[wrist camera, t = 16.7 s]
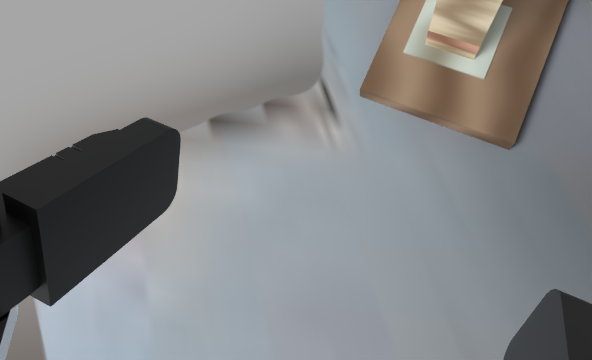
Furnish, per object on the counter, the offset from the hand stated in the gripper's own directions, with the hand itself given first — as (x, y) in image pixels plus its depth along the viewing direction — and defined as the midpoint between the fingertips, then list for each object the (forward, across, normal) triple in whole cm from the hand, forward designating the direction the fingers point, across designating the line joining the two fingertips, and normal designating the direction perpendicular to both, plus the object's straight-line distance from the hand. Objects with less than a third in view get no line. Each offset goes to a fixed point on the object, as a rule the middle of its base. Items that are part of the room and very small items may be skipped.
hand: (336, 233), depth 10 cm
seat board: (+40, -1, +3) cm, 41 cm away
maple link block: (+38, 0, +3) cm, 38 cm away
